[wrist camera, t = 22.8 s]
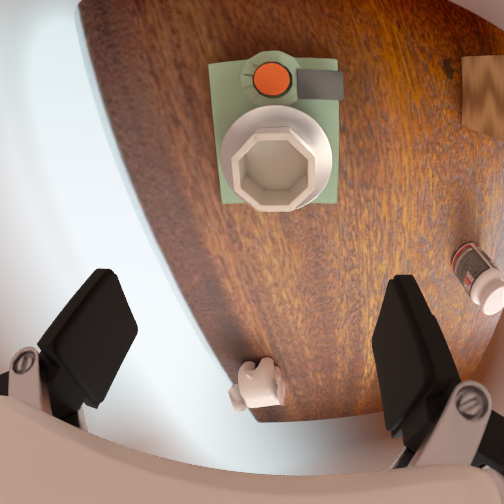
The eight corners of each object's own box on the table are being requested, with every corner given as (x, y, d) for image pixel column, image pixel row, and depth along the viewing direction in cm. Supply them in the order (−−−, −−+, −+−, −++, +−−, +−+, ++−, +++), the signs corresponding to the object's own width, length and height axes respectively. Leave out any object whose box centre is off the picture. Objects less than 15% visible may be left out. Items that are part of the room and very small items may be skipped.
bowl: (238, 128, 25) (228, 135, 21) (310, 126, 24) (315, 132, 20) (243, 194, 29) (235, 212, 25) (311, 194, 28) (314, 212, 24)
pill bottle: (448, 277, 35) (475, 322, 26) (453, 244, 32) (486, 288, 24) (476, 270, 34) (505, 312, 25) (482, 238, 31) (517, 279, 22)
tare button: (254, 65, 23) (252, 63, 21) (288, 64, 22) (288, 62, 21) (257, 96, 24) (254, 96, 23) (290, 95, 24) (290, 95, 22)
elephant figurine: (256, 388, 54) (250, 425, 47) (226, 356, 49) (216, 396, 42) (299, 380, 51) (298, 419, 43) (274, 345, 46) (270, 389, 38)
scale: (211, 60, 25) (203, 57, 22) (334, 55, 23) (339, 51, 21) (224, 199, 33) (218, 209, 31) (335, 199, 32) (339, 209, 29)
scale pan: (214, 75, 23) (211, 74, 22) (342, 71, 22) (344, 70, 21) (227, 209, 31) (225, 212, 30) (340, 209, 29) (342, 213, 28)
